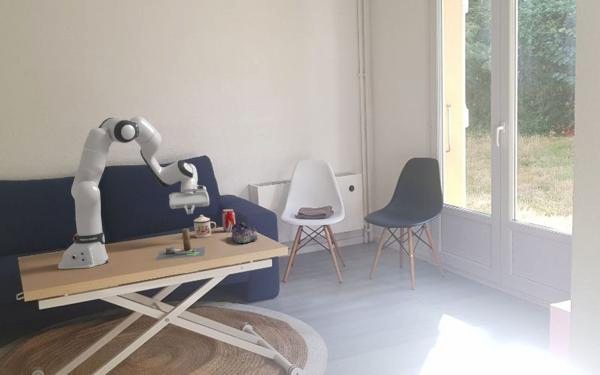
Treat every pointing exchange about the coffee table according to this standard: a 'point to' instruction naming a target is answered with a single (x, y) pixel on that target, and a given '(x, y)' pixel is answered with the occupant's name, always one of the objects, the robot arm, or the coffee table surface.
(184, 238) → the tuning lever
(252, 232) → the geode
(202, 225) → the teacup with lid
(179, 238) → the coffee table surface
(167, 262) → the coffee table surface
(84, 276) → the coffee table surface
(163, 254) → the dial plate
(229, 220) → the soda can
